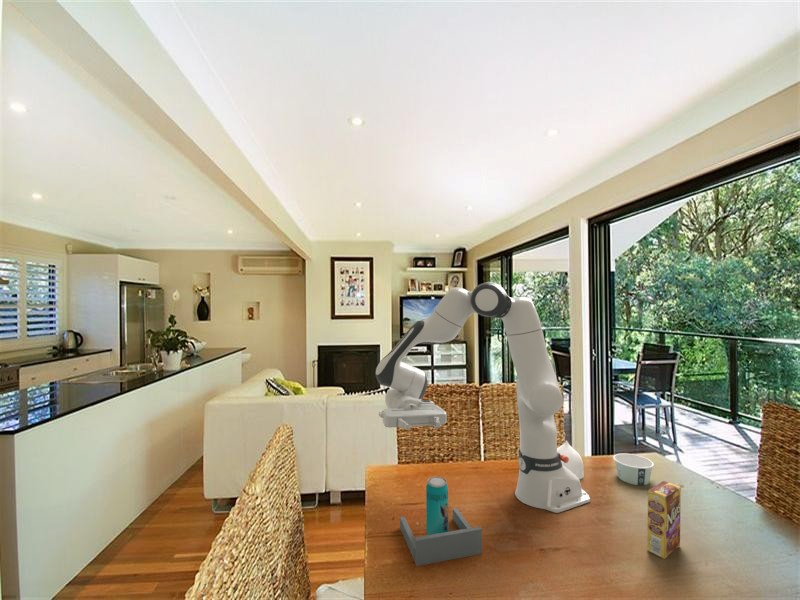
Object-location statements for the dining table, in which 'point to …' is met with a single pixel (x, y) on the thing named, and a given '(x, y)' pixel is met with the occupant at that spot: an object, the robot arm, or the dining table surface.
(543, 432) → the robot arm
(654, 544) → the candy box
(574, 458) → the teardrop
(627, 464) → the food container
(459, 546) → the lane rack
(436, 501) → the beverage can
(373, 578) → the dining table surface
